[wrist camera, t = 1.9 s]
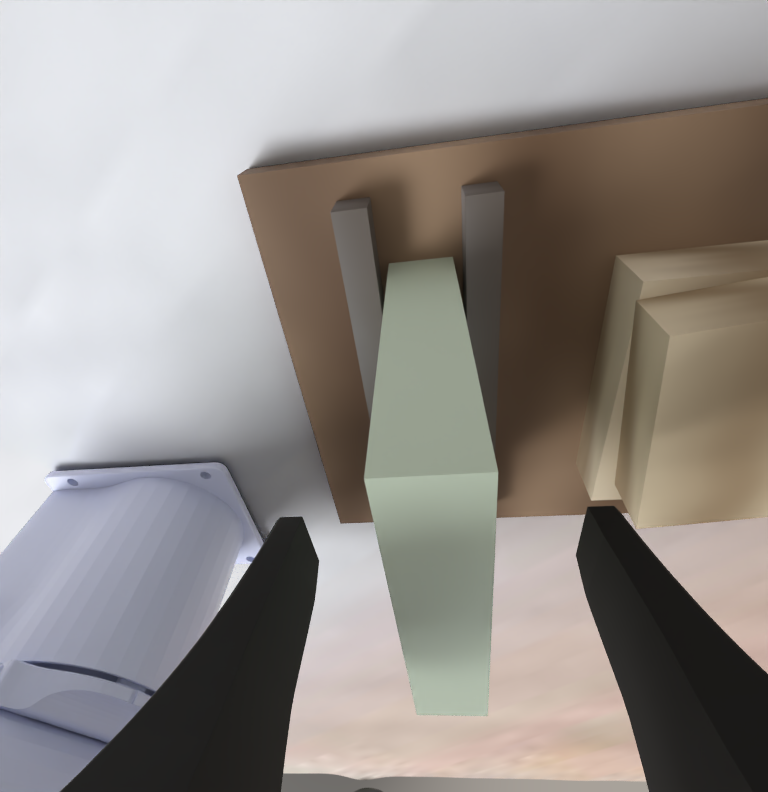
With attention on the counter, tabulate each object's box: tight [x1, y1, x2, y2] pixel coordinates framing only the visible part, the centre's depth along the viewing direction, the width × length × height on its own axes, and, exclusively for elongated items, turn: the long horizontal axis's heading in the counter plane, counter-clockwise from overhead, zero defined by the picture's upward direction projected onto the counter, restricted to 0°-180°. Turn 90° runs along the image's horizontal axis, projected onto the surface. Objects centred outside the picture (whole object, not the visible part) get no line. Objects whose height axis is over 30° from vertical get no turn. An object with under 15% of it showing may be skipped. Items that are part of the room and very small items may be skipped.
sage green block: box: [364, 257, 498, 716], centre depth 13 cm, size 2×10×9 cm, turn 7°
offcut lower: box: [576, 240, 768, 501], centre depth 15 cm, size 5×9×2 cm, turn 7°
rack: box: [237, 98, 768, 523], centre depth 16 cm, size 16×16×2 cm
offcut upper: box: [615, 277, 768, 529], centre depth 13 cm, size 4×8×2 cm, turn 13°
